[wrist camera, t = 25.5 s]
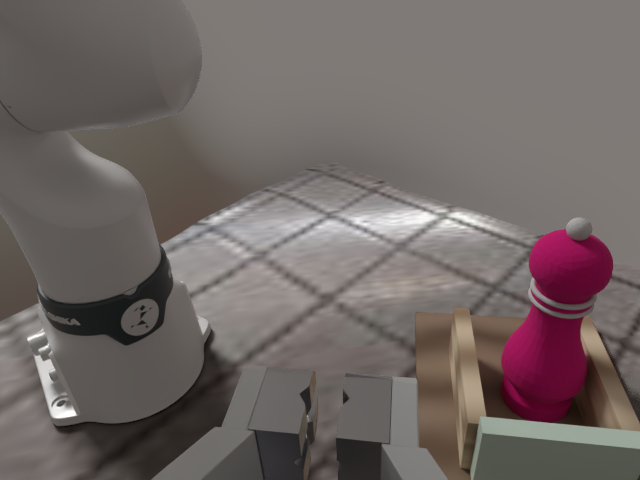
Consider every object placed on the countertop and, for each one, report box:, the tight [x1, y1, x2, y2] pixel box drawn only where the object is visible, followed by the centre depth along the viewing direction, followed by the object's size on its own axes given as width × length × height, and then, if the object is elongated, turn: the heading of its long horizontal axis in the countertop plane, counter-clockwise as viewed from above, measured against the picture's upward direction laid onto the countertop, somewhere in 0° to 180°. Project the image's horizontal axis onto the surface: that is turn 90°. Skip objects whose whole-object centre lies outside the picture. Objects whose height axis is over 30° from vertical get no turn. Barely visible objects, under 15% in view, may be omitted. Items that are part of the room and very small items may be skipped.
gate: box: [470, 416, 640, 480], centre depth 38 cm, size 2×12×7 cm, turn 81°
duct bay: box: [415, 308, 640, 480], centre depth 46 cm, size 24×20×7 cm
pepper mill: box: [501, 218, 613, 423], centre depth 42 cm, size 7×7×20 cm
